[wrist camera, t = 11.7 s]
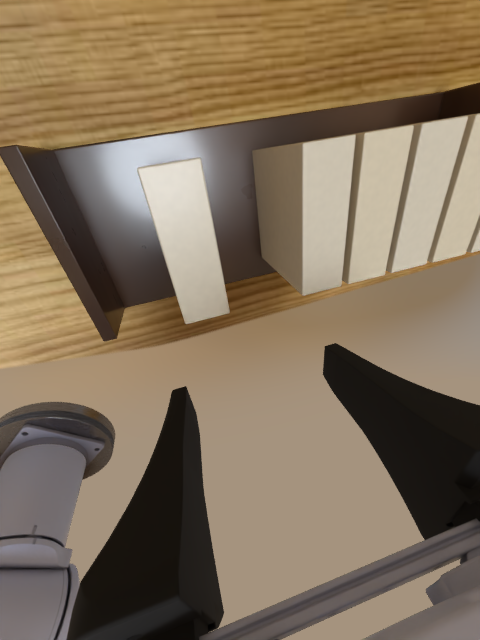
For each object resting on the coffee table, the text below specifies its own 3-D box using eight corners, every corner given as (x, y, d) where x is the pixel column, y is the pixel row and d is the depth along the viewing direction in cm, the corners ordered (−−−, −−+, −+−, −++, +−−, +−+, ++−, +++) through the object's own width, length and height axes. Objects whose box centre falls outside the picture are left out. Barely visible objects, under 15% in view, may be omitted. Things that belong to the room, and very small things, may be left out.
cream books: (261, 257, 20) (302, 296, 14) (251, 150, 16) (302, 142, 10) (412, 223, 22) (502, 244, 16) (436, 120, 18) (568, 98, 12)
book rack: (115, 306, 20) (104, 342, 16) (42, 152, 14) (-5, 147, 10) (409, 236, 23) (460, 251, 19) (443, 92, 18) (523, 72, 14)
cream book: (178, 275, 19) (185, 325, 13) (146, 166, 15) (136, 167, 9) (209, 268, 19) (230, 313, 13) (186, 159, 15) (201, 156, 9)
